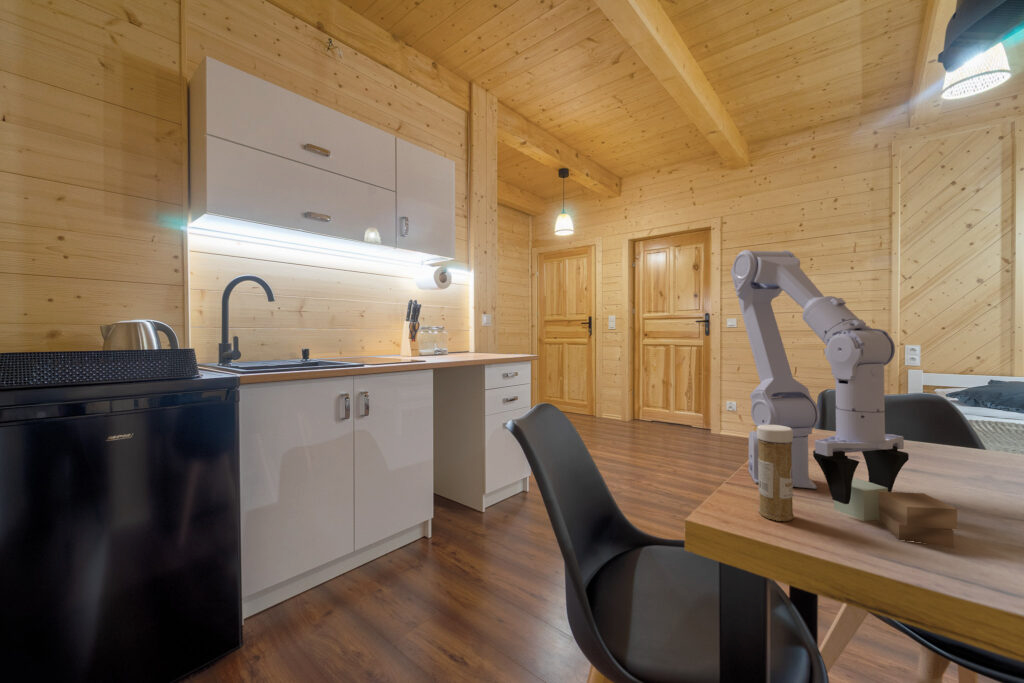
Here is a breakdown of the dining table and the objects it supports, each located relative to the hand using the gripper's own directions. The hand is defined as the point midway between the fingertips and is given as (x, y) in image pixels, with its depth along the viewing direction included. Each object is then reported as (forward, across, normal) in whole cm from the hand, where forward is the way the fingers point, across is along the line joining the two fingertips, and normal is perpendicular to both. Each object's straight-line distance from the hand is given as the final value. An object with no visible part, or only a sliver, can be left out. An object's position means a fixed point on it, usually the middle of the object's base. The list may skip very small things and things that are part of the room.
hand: (860, 499), depth 64 cm
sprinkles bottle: (+2, -13, +2) cm, 13 cm away
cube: (+2, 0, 0) cm, 2 cm away
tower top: (0, 0, -7) cm, 7 cm away
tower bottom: (+3, 0, -7) cm, 8 cm away
